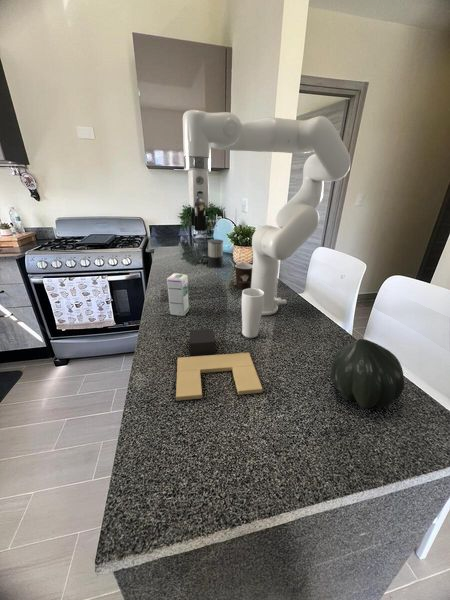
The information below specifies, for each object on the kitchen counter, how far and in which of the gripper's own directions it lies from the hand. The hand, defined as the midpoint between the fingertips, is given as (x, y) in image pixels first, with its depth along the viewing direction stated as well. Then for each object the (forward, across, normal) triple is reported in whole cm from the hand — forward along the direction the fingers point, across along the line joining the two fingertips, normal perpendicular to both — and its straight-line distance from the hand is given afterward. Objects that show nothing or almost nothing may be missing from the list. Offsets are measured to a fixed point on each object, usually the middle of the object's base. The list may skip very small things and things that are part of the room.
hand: (198, 227), depth 78 cm
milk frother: (+32, +64, -16) cm, 73 cm away
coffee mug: (+32, +26, -26) cm, 49 cm away
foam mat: (+32, -31, 0) cm, 44 cm away
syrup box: (+32, +6, +6) cm, 33 cm away
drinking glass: (+32, -14, -15) cm, 38 cm away
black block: (+32, -19, +2) cm, 37 cm away
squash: (+32, -44, -33) cm, 63 cm away
